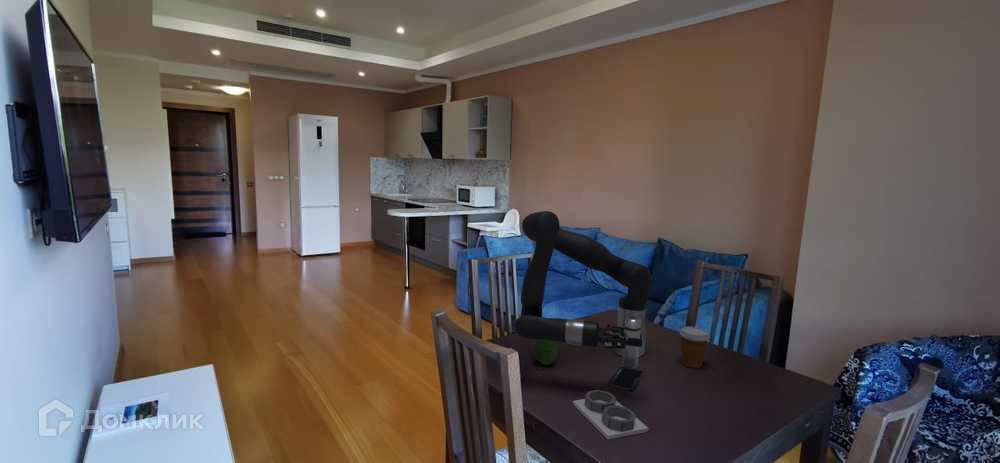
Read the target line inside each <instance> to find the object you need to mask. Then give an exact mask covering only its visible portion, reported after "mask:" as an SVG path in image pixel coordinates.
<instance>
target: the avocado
mask: <svg viewBox="0 0 1000 463" xmlns="http://www.w3.org/2000/svg"><path fill="white" fill-rule="evenodd" d="M558 353H559V346H558V343H557V342H555V341H551V340H539V339H536V341H535V343H534V355H535V358H536V359H537V361H538V362H540V363H541V364H542V365H544V366H545V365H546V366H548V365H549V366H550V365H551V364H554V362H555V361H556V359H557V357H558Z"/></svg>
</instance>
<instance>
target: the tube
mask: <svg viewBox="0 0 1000 463" xmlns="http://www.w3.org/2000/svg"><path fill="white" fill-rule="evenodd" d="M640 330H641V319H640V318H638V317H632V316H629V317H626V318H625V331H624V337H628V339H629V337H630V338H638V339H640ZM639 358H640V357H639V347H636V346H627V347H625V349H623V356H622V367H627V368H631V369H637V368H638V367H639Z"/></svg>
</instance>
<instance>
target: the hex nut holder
mask: <svg viewBox="0 0 1000 463" xmlns="http://www.w3.org/2000/svg"><path fill="white" fill-rule="evenodd" d="M572 405H573V406H574V407H575V408H576V409H577V410H578V411H579V412H580V413H581V414H582V415H583V416H584V417H585V418H586V419H587V421H589V423H591V424H592V426H594V428H596V429H597V430H598V432H599V433H600V434H602V435H603V436H604V437H605V439H607V440H611V439H612V440H613V439H617V438H623V437H628V436H634V435H640V434H643V433H649V427H648V426H647V425H646V424H644V423H643V422H642V421H641V420H640V419H638V418H637V417H636V416H637V414H636V413H635V412H633V411H632V410H631V409H630V408H628V407H625V406H623V405H622V403H619V401H617V397H616V396H615V395H613V393H611V392H610V391H605V390H602V389H595V390H589V391H587V392H586V394H585V396H584V398H582V399H576V400H573V401H572Z"/></svg>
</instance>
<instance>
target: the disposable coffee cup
mask: <svg viewBox="0 0 1000 463" xmlns="http://www.w3.org/2000/svg"><path fill="white" fill-rule="evenodd" d="M679 335H680V345H681V346H680V347H681V348H680V349H681V351H680V352H681V364H683V365H684V366H686V367H689V368H693V369H699V368H701V367H702V364H703V361H704V357H705V352H706V348H707V344H708V341H709V339H710V334H709V332H708V330H706V329H704V328H701V327H698V326H683V327H682V328H681V329H680V331H679Z"/></svg>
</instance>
